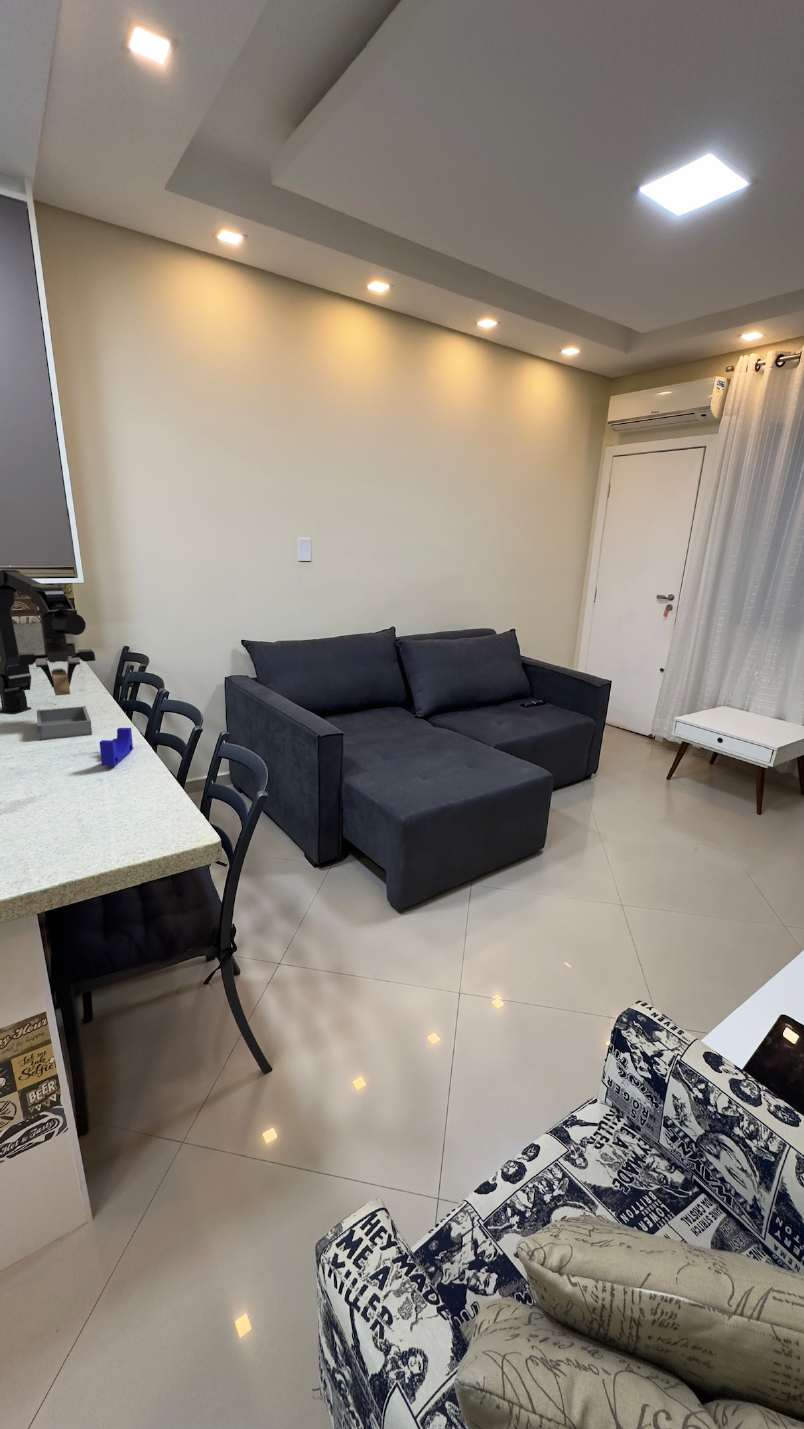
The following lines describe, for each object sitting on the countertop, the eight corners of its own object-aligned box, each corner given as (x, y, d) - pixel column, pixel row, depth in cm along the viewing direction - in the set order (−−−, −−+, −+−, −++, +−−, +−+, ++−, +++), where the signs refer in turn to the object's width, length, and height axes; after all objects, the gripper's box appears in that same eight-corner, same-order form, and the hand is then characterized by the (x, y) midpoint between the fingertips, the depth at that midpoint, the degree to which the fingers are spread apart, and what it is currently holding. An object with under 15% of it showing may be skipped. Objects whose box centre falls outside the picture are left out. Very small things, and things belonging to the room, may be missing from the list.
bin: (38, 723, 171) (36, 710, 170) (86, 718, 178) (85, 706, 177) (39, 740, 157) (37, 726, 156) (92, 734, 163) (90, 721, 162)
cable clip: (115, 749, 153) (113, 727, 152) (133, 749, 154) (131, 727, 152) (95, 765, 142) (92, 741, 140) (114, 765, 142) (112, 742, 140)
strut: (55, 695, 163) (53, 675, 161) (53, 687, 172) (50, 668, 171) (70, 694, 165) (67, 674, 163) (67, 686, 174) (64, 667, 173)
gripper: (14, 637, 153) (23, 695, 157) (94, 634, 163) (100, 689, 167) (14, 632, 162) (22, 687, 166) (90, 629, 172) (96, 681, 176)
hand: (61, 686), depth 168 cm, fingers closed on strut, 4 cm apart
